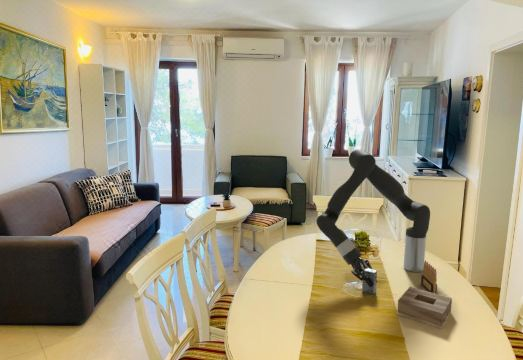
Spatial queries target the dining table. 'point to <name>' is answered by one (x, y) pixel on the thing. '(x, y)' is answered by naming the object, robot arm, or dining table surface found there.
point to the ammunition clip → (429, 278)
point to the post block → (425, 307)
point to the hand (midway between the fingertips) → (373, 284)
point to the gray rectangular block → (373, 276)
